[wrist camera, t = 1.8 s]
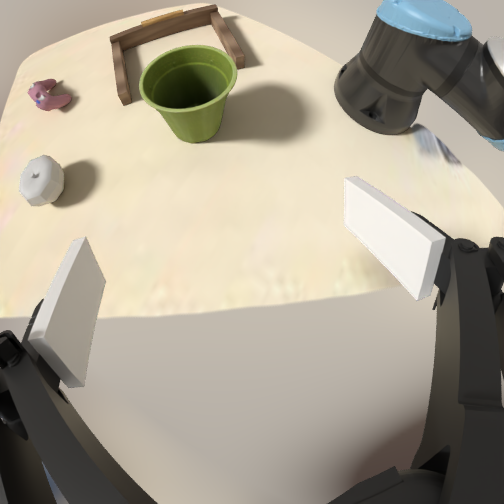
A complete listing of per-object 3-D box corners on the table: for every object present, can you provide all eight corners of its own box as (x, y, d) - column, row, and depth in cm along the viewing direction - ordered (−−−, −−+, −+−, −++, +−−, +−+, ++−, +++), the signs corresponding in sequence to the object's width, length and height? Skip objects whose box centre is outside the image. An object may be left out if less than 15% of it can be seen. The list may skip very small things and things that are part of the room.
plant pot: (227, 163, 40) (224, 117, 29) (148, 152, 40) (124, 109, 29) (244, 99, 42) (246, 48, 31) (172, 91, 42) (158, 43, 31)
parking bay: (244, 67, 43) (244, 48, 39) (123, 105, 42) (114, 88, 37) (216, 18, 46) (215, 1, 41) (115, 50, 44) (108, 34, 39)
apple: (42, 223, 38) (18, 212, 31) (31, 186, 39) (9, 171, 32) (79, 194, 39) (58, 178, 32) (66, 157, 40) (46, 139, 33)
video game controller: (46, 98, 44) (20, 93, 37) (56, 79, 42) (31, 72, 36) (63, 118, 43) (35, 113, 36) (74, 97, 41) (46, 90, 35)
